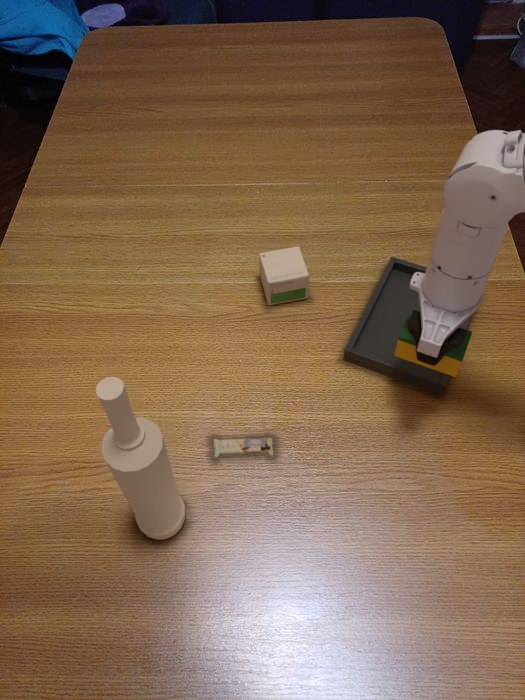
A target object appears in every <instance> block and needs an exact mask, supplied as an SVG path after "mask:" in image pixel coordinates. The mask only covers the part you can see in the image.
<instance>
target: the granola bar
mask: <svg viewBox="0 0 525 700" xmlns="http://www.w3.org/2000/svg"><path fill="white" fill-rule="evenodd" d="M213 447H214V458H218V457H220V456H234V455H236V456H237V455H258V454H259V455H260V454H261V455H262V454H268V455H269V456H274V451H273V437H268V438H267V437H255V438H254V437H253V438H231V439H230V438H229V439H226V438H225V439H221V440H220V439H219V438H218V439H217V438H214V439H213Z"/></svg>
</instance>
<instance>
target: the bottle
mask: <svg viewBox="0 0 525 700" xmlns="http://www.w3.org/2000/svg"><path fill="white" fill-rule="evenodd" d="M95 393H96V396H97V398H98V400H99V403H100V405H101V408H102V410H103V411H104V412H105V414H106V416H107V419H108V421H109V424H110V425H111V427H110V428H109V429H108V430H107V432H106V433H105V436H104V437H103V439H102V441H101V454H102V457H103V459H104V462H105V463H106V465H107V467H108V468H109V470H110V472H111V474H112V476H113V477H114V479H115V482H116V483H117V485H118V486H119V489H120V490H121V492H122V494H123V495H124V497H125V500H126V501H127V503H128V504H129V507H130V508H131V510H132V512H133V513H134V519H135V522H136V524H137V526H138V528H139V530H140V531H141V532H142V533H143V534H144V535H145V536H146V537H148V538H151V539H154V540H157V541H158V540H159V541H160V540H168V539H169V538H172V537H173V536H176V535H177V534H178V532H179V531H180V530H181V529H182V528H183V525H184V523H185V520H186V505H185V503H184V501H183V499H182V496H181V495H180V494H179V490H178V486H177V483H176V479H175V475H174V472H173V468H172V464H171V461H170V458H169V454H168V450H167V447H166V443H165V439H164V436H163V433H162V431H161V428H160V427H159V425H157V424H156V423H155V422H153V420H151V419H148V418H144V417H141V416H137V417H136V416H135V413H134V410H133V408H132V405H131V403H130V398H129V395H128V393H127V390H126V387H125V384H124V382H123V380H122V379H120V378H119V377H116V376H108V377H105V378H102V379H101V380H100V381H99V382H98V383H97V385H96V387H95Z"/></svg>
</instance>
